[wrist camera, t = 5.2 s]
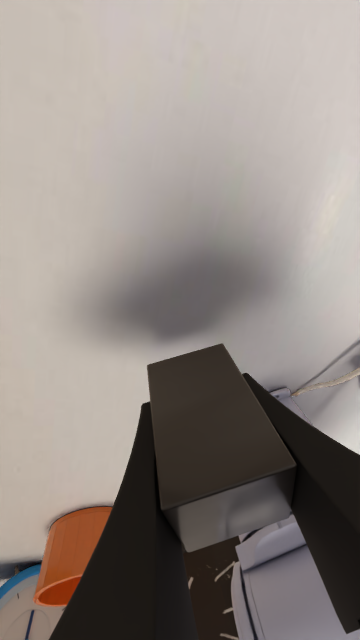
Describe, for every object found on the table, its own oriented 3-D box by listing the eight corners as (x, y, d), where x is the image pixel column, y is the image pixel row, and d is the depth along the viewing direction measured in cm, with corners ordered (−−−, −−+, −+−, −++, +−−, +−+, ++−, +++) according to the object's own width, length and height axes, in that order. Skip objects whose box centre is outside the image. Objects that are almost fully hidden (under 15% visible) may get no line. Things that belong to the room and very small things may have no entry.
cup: (116, 497, 27) (113, 562, 22) (140, 526, 32) (142, 583, 27) (33, 524, 26) (11, 597, 22) (71, 549, 31) (61, 612, 27)
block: (222, 342, 11) (298, 465, 6) (229, 394, 13) (290, 518, 8) (146, 364, 11) (160, 511, 6) (165, 413, 13) (187, 554, 8)
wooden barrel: (273, 500, 37) (355, 676, 23) (242, 543, 45) (290, 691, 32) (165, 519, 32) (190, 749, 19) (154, 563, 41) (166, 744, 27)
